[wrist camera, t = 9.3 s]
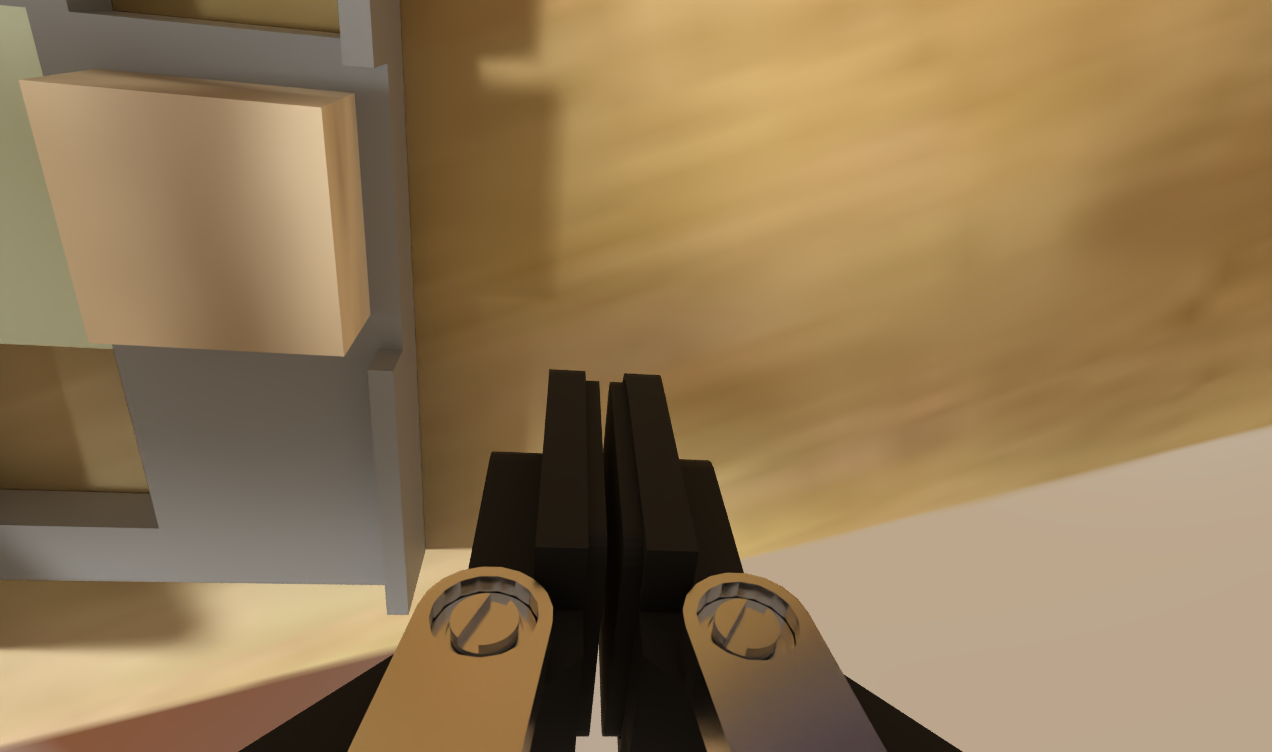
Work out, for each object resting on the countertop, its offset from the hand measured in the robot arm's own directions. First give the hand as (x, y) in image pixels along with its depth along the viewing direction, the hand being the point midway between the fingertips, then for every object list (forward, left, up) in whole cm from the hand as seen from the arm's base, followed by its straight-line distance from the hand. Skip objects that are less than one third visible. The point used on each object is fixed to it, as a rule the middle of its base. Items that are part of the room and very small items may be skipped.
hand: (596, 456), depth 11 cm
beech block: (-10, 0, -12) cm, 16 cm away
